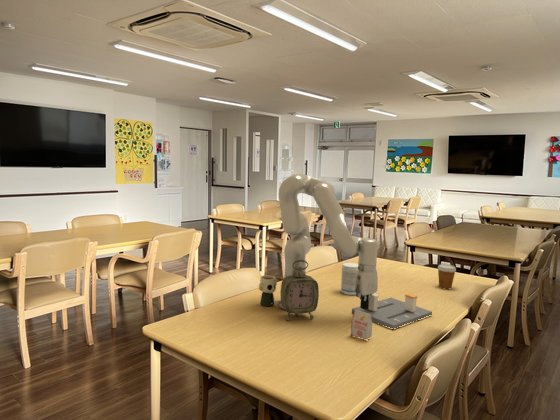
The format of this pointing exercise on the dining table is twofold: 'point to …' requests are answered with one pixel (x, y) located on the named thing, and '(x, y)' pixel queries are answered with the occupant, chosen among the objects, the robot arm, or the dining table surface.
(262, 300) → the character mug
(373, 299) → the fader cream
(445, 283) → the disposable coffee cup
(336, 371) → the dining table surface
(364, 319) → the tea bag
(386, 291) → the dining table surface
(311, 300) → the tabletop clock
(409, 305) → the fader orange
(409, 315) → the panel
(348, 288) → the supplement tub
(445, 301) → the dining table surface
